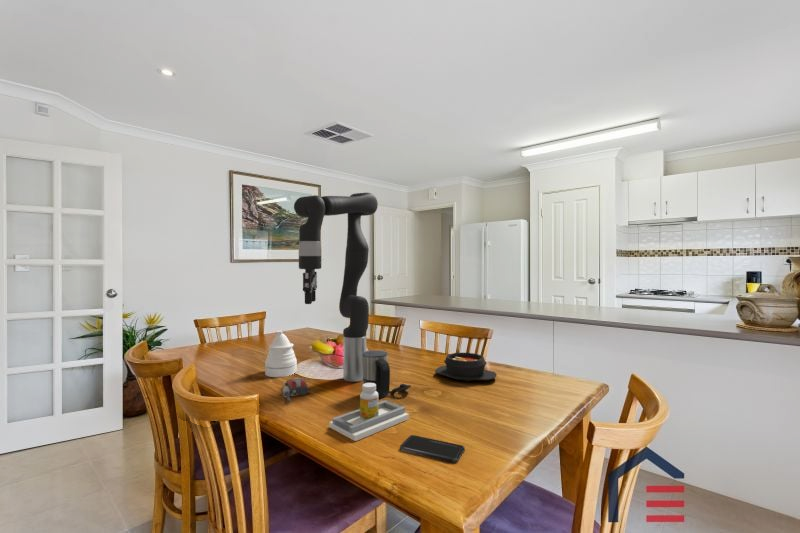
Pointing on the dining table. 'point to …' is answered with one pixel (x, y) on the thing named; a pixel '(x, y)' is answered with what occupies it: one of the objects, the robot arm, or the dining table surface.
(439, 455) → the phone
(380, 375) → the milk frother
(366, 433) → the board
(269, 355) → the honey pot
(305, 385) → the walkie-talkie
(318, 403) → the dining table surface
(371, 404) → the supplement bottle
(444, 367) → the casserole
